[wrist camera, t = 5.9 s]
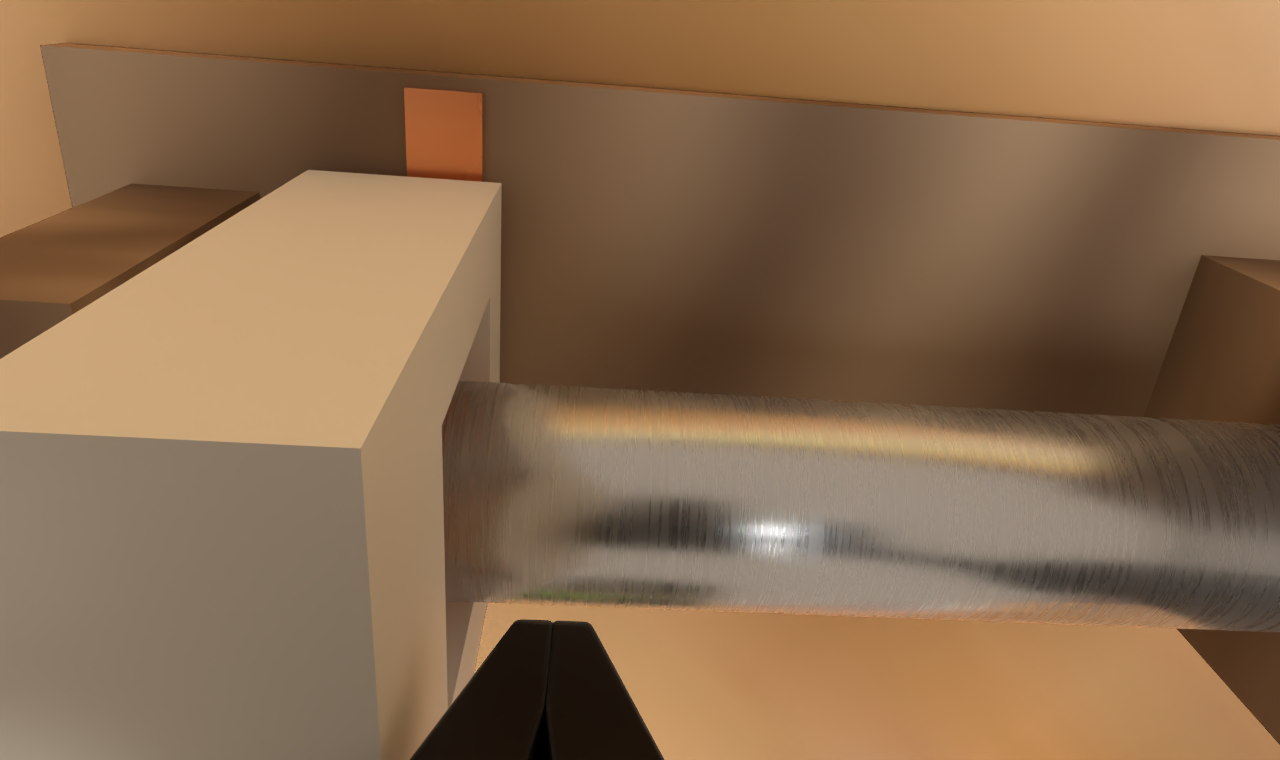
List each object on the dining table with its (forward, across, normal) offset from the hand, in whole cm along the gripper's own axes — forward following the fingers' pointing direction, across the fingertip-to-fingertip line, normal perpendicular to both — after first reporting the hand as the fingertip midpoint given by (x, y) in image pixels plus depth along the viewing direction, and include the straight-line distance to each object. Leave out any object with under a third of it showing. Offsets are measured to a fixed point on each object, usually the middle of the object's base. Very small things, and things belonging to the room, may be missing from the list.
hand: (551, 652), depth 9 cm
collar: (+8, +3, 0) cm, 8 cm away
